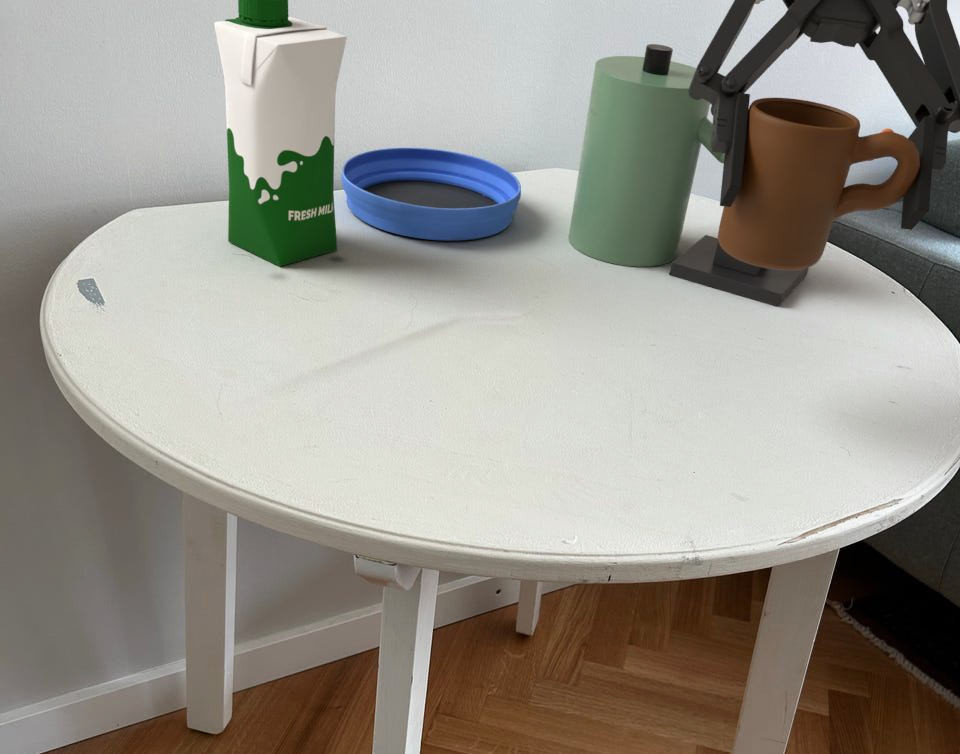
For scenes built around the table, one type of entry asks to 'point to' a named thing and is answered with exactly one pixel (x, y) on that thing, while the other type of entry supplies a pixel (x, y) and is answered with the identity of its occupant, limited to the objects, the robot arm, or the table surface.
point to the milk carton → (280, 131)
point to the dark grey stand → (734, 273)
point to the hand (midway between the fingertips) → (822, 208)
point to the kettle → (638, 159)
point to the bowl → (430, 193)
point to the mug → (805, 181)
